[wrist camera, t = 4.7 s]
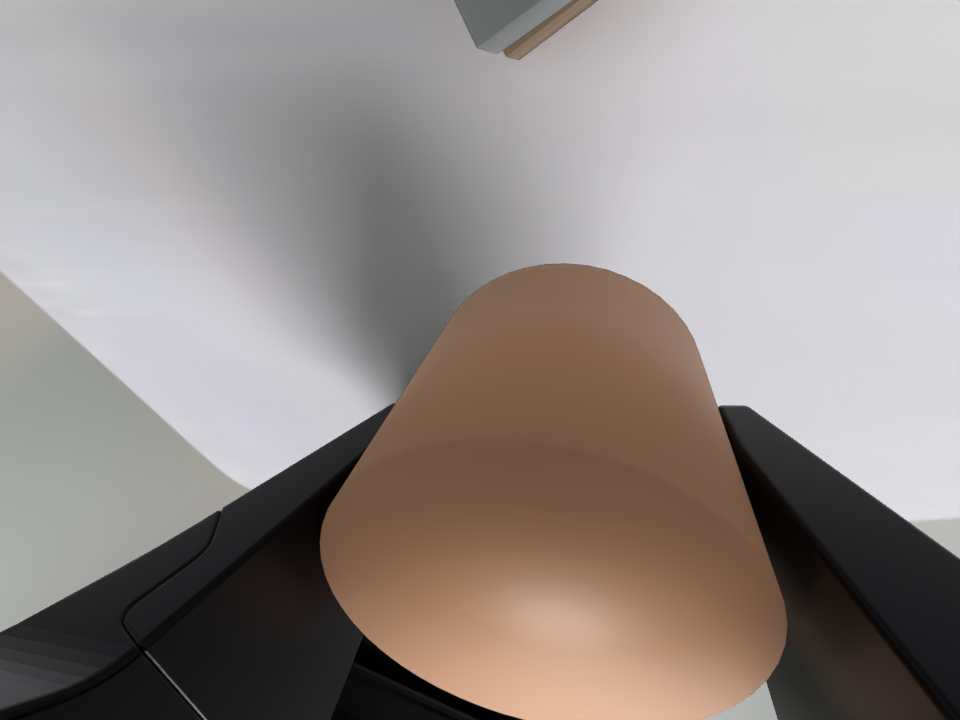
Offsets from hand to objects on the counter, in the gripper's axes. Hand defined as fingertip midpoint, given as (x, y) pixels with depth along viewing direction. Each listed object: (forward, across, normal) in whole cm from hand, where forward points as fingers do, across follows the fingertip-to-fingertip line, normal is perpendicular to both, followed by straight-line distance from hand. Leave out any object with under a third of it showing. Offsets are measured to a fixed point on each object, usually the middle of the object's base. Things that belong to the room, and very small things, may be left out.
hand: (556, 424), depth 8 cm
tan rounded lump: (+1, 0, 0) cm, 1 cm away
